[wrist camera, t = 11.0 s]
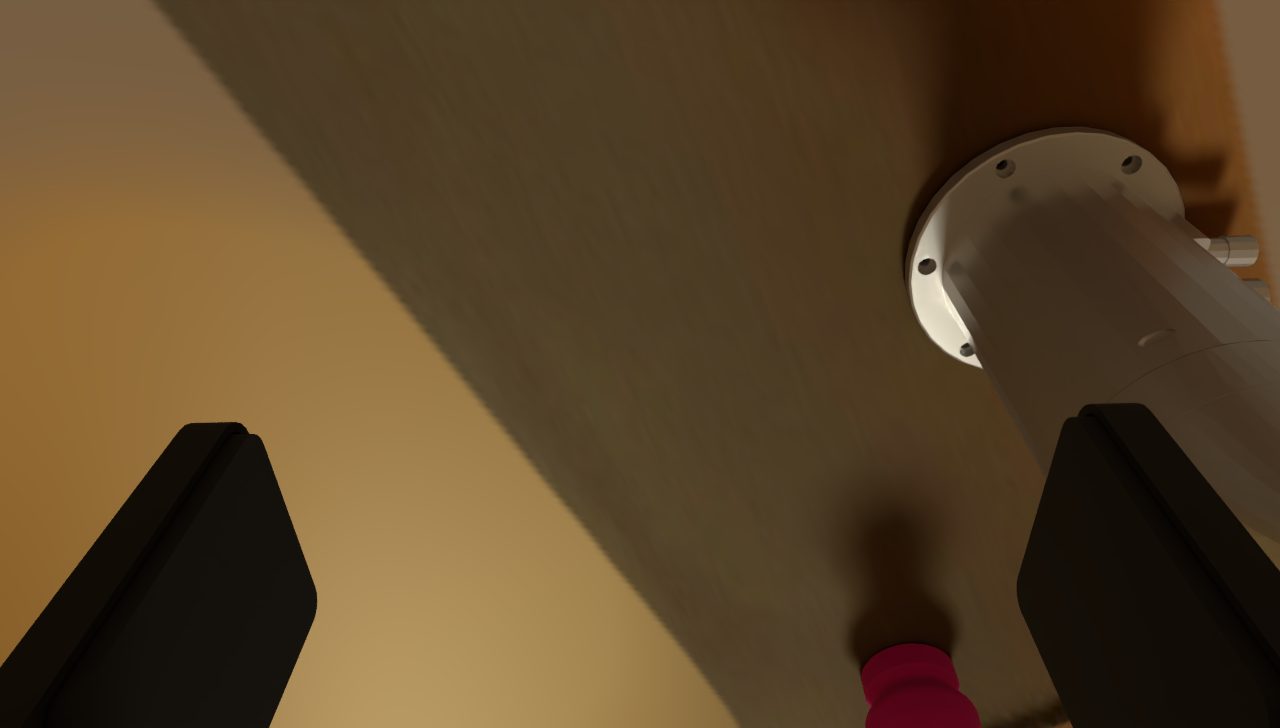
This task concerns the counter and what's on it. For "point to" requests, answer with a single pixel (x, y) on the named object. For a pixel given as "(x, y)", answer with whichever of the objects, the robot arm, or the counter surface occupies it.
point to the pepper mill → (915, 690)
